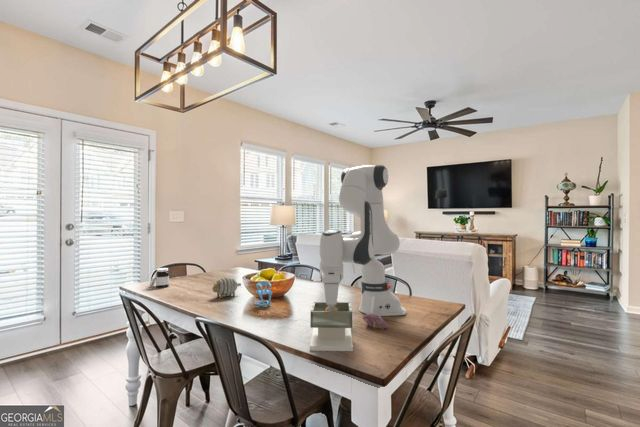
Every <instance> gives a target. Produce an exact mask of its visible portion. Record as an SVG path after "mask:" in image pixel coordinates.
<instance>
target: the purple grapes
mask: <svg viewBox="0 0 640 427" xmlns="http://www.w3.org/2000/svg"><path fill="white" fill-rule="evenodd" d="M362 319H363V321H364V322H365V323H366V324H368V326H369V327H370V328H372V327H375V329H380V328H383V329H388V327H389V325H388V322H386V321H385V320H384V318H383V317H382V316H377V315H376V314H368V313H367V314H364V315H363V317H362Z"/></svg>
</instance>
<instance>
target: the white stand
mask: <svg viewBox="0 0 640 427" xmlns="http://www.w3.org/2000/svg"><path fill="white" fill-rule="evenodd" d="M352 336H353V335H352V328H312V334H311V339H310V343H309V351H314V352H315V351H317V352H318V351H321V352H327V351H328V352H354V343H353V337H352Z"/></svg>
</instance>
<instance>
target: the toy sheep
mask: <svg viewBox="0 0 640 427" xmlns="http://www.w3.org/2000/svg"><path fill="white" fill-rule="evenodd" d="M241 286H242V283H240V282H239V283H238V282H237V281H236V279H235V278H233V277H226V276H225V277H223V278H220V279H217V281H216V283H213V286H212V291H213V293H217V294H216V297H217V298H220V299H223V297H224V296H225V297H228V296H232V297H235V296H236V295H235V294H236V290H237V289H238V287H241Z"/></svg>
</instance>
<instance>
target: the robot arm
mask: <svg viewBox="0 0 640 427" xmlns="http://www.w3.org/2000/svg"><path fill="white" fill-rule="evenodd" d="M340 175H341V176H340V182H341V186H340V190H339V196H338V201H339V202H338V203H339V204H340V206H341V208H342V209H343V210H344V211H346V212H348V213H349V214H351V215H354V216H356V217H359V219H360V230H359V231H354V232H352V233H351V234H350V235H349V237H344V236H343V233H342V231H341V230H339V229H328V230H324V231H322V233H321V235H320V240H319V241H320V242H319V257H320V263H319V279H320V280H321V283H323V289H324V297H325V302H326V304H327V305H329V311H334V305H336V304H337V302H338V295H339V294H338V293H339V287H340V286H339V285H340V283H341V281H342V280H343V279H344V263H349V264H358V265H360V266H361V282H360V291H361V297H360V298H361V299H360V304H359V306H358V307H359V308H358V311H359V312H360V313H363V314H364V315H366V314H367V313H368V314H376V315H377V316H380V317H390V316H391V317H392V316H405V315H406V314H407V309H406V308H405V307H404V306H402V302H401V299H400V298H399V297H398V296H397V295H396V294H395V293H394V292H392V291H391V290H390V289H391V288H392V286H391V284H390V283H388V282H386V268H385V266H384V264H383V263H382V262H381V261H380V260H378V259H377V258H376V255H392V254H395V253H397V251H398V250H399V248H400V243H401V242H400V238H399V237H398V235H397V234H396V233H395V232H394V231H393V230H392V229H391V228H390V227H389V226H388V223H387V221H386V217H385V209H384V194H383V189H384V188H385V187H386V186H387V184H388V182H389V172H388V168H386V166H385V165H383V164H364V165H360V166H355V167H354V166H353V167H348V168H345V169H344V170H343V171H342V172H341V174H340Z"/></svg>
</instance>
